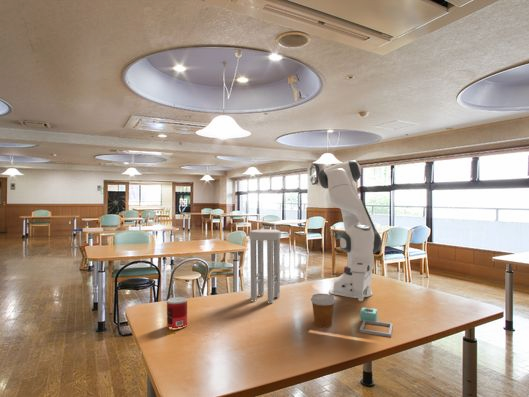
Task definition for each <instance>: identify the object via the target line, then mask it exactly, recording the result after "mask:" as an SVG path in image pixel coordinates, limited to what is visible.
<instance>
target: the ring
mask: <svg viewBox="0 0 529 397" xmlns="http://www.w3.org/2000/svg"><path fill="white" fill-rule="evenodd" d="M367 308H368V307H364V306H363V307H362V308H361V309H360V311H359V312H360V313H359V314H360V316H359V319H360V320H362V321H361V322H363V320H370V321H376V320H377V317H378V308H371V307H370V309H372V312H367V311H366V309H367Z"/></svg>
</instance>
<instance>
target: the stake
mask: <svg viewBox="0 0 529 397" xmlns="http://www.w3.org/2000/svg"><path fill="white" fill-rule="evenodd" d="M366 308H367V309H366V311H367V312H372V309H373V308H372V309H370V308H371V307H370V308H369V307H366ZM358 321H359V322H363V321H362V320H360V318H359V319H358ZM376 321H378V322H379V316H377V320H376Z"/></svg>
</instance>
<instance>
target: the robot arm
mask: <svg viewBox="0 0 529 397" xmlns="http://www.w3.org/2000/svg"><path fill="white" fill-rule="evenodd" d="M317 174H318V176H317V181H318V183H319V185H320V186H321V187H322V188H323V189H328V193H329V198H330V201H331V203H332V204H333V205H334V206H335V207H336V208H338V209H339V210H340V212H341V216H342V221H343V227H344V230H345V232H343V233H342V234H340V236H339V248H340V249H341V250H342V251H343V252H344V253H345V254H347V265H345V266H344V267H343V273H342V274H341V275H340V276H338V277H337V278H336V279H335V280H334V281H333V285H332V287H330V288H329V290H328V292H329V293H328V294H329V295H333V296H334V295H335V296H340V297H347V298H352V299H357V300H358V301H359V302H363V301H364V298H368V297H371V296H373V291H372V286H371V283H372V280H373V278H372V276H373V275H372V274H373V273H372V270H374V269H375V257H374V256H375V255H374V254H376V253H378V251H379V250H380V249H381V248H382V244H383V240H382V237H381V234H380V233H379V232H378V231H377V228H376V227H375V225H374V222H373V220H372V217H371V215H370V213H369V211H368V208H367V206H366V205H365V203H364V201H363V200H362V199H361V198H360V196H359V193H358V189H357V187H356V185H355V183H357V181H358V180H359V179H360V178H361V177H362V167H361V165H360V164H359V163H358V161H357V160H355V159H350V160H348V161H342V162H338V163H336V164H334V165H330V166H329V167H326V168H323V169H321V170H320V171H319V172H318V173H317ZM354 182H355V183H354Z"/></svg>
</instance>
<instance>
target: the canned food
mask: <svg viewBox="0 0 529 397" xmlns="http://www.w3.org/2000/svg"><path fill="white" fill-rule="evenodd" d="M166 323H167V324H166V326H168V327H172V328H178V327H183V326H185V325H187V326H188V299H187V297H185V296H174V297H170V298H168V299H167V301H166ZM168 327H167V328H168Z"/></svg>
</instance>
